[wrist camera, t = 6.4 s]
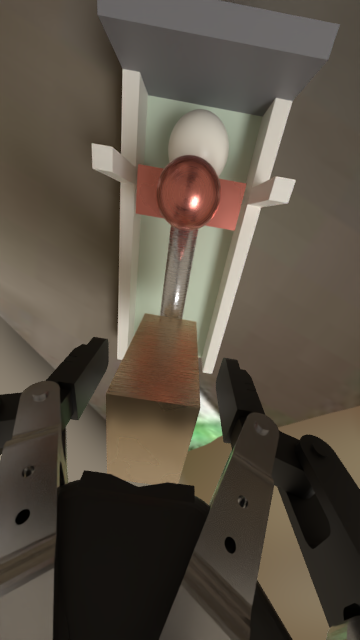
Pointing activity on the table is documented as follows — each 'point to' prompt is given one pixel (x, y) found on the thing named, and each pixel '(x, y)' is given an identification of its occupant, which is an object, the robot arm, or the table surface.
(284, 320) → the table surface
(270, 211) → the table surface
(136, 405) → the striker
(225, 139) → the ball
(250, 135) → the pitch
